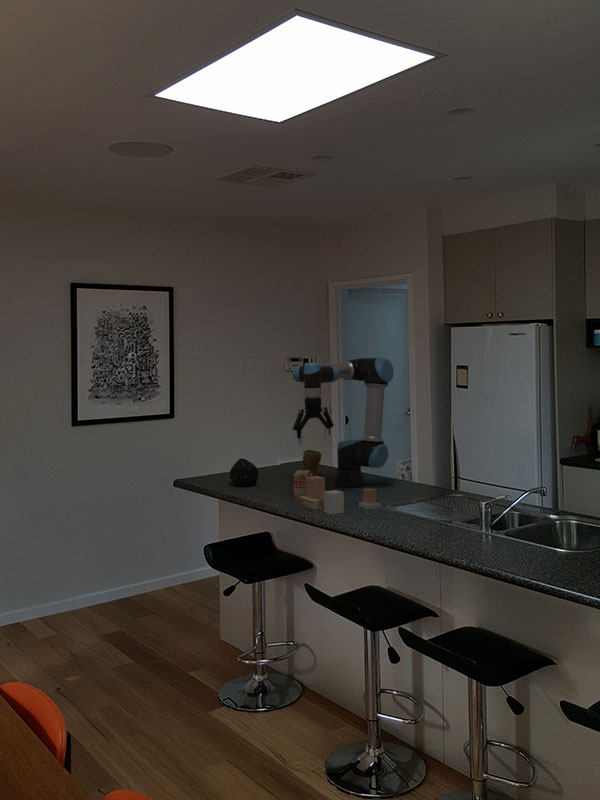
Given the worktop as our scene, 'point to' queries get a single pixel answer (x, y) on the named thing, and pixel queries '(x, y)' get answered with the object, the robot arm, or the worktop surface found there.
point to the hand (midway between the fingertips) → (314, 444)
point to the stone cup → (311, 461)
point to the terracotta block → (315, 487)
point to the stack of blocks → (300, 482)
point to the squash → (243, 473)
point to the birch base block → (310, 503)
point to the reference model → (369, 499)
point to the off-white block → (333, 502)
